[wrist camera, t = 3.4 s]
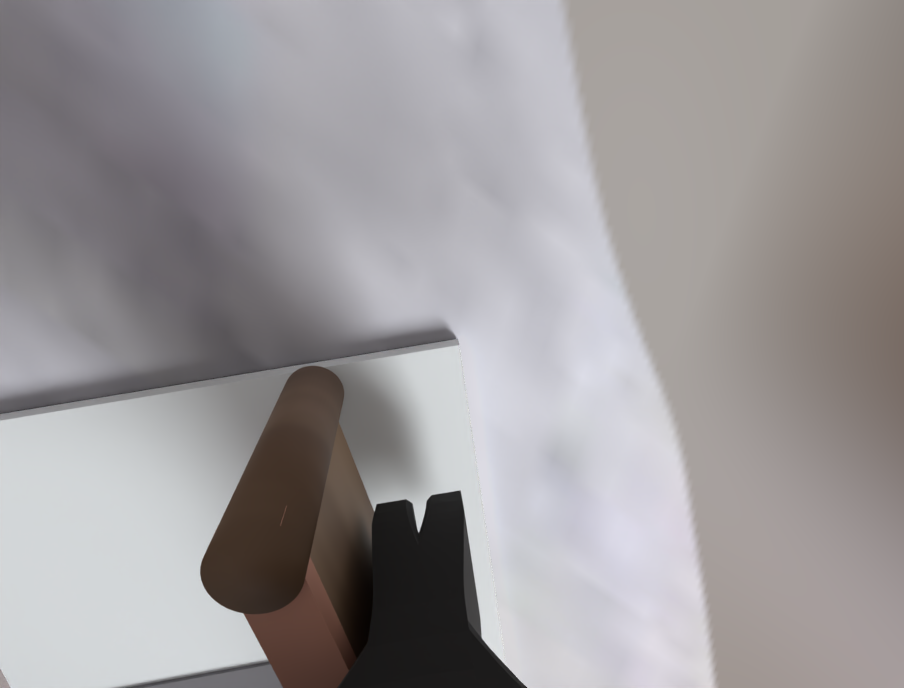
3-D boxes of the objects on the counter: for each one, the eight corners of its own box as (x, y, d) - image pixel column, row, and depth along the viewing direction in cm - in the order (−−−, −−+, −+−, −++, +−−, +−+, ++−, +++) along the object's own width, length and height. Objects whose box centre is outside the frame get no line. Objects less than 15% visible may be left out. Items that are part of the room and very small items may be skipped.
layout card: (531, 839, 18) (534, 857, 18) (150, 914, 18) (144, 935, 17) (457, 338, 12) (459, 346, 12) (-109, 431, 12) (-130, 443, 11)
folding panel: (440, 640, 14) (463, 905, 9) (393, 654, 14) (392, 926, 9) (332, 358, 11) (283, 518, 6) (274, 375, 11) (182, 548, 6)
